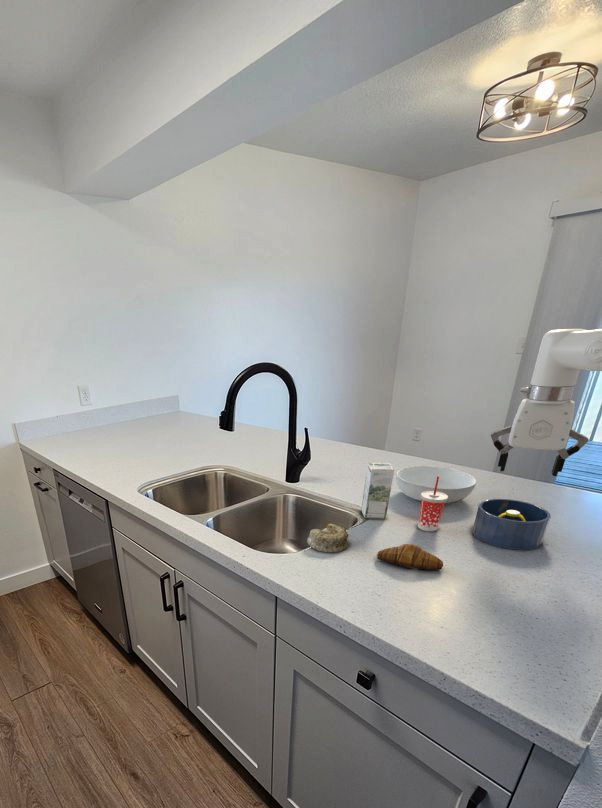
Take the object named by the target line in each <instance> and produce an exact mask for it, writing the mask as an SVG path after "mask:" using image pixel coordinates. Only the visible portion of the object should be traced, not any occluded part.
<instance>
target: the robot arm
mask: <svg viewBox="0 0 602 808" xmlns="http://www.w3.org/2000/svg"><path fill="white" fill-rule="evenodd" d="M581 370H582V371H588V372H589V371H590V372H602V328H595V329H589V330H588V329H585V328H563V329H562V328H561V329H551V330H549V331H547V332H545V333H544V335H543V336H542V338H541V342H540V345H539V350H538V353H537V356H536V361H535V365H534V368H533V372H532V376H531V380H530V384H529V385H528V386H526V387H525V386H524V387H521V388H520V391H519V395H523V396H525V397H526V398H524V399H522V400H521V402H520V404H519V406H518V407H517V410H516V414H515V415H514V418H513V421H512V425H509V426H505V427H503V428H500V429H498V430H495V431H492V432H491V433H490V438H491V440H492V443H493V446H494V447H495V448H496V450H497V451H498V452H499V453H500V455H499V459H498V462H497V467H500V469H499V471H500V472H505V469H506V465H507V462H508V457H509V451H511V450H512V449H514V448H515V449H523V450H525V449H526V450H538V451H539V450H540V451H556V452H557V453H558V455H556V457H555V460H554V463H553V466H552V470H551V475H552V476H553V477H558V473H562V471H563V468H564V465H565V463H566V459H569V457H570V456H572V455H574V454H576V453H578V452H580V451H581V449H582V448H583V447H584V446H586V445H587V443H588V442H589V441H590V440H589V438H588V436H586V435H584V434H582V433H580V432H578V431H577V430H574V429H573V428H572V424H573V421H574V415H575V408H576V402H575V401H574V400H573V399H572V398H573V395H574V390H575V387H576V385H577V382H578V377H579V376H580V375H579V374H580V371H581ZM507 434H509V436H508V442H506V443H505V444H503V443H502V442H501V440H500V437H502V436H504V435H507ZM569 437H570V438H571V439H574V440H575V441H576V442H575V443H574V444H573V445H571V446H569V447H568V448H565V447H566V446H567V443H568V441H569Z"/></svg>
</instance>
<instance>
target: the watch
mask: <svg viewBox="0 0 602 808" xmlns="http://www.w3.org/2000/svg"><path fill="white" fill-rule="evenodd" d="M506 515H508V516H512V517H517V516H518V517H519V518H521V519H522V521H526V520H525V519H524V517H523V516H522V515H521V514H520V512H519V511H516V510H507V511H506V512H505V513H502V514H500V515H499V516H498V517H500V518H501V517H503V516H506Z"/></svg>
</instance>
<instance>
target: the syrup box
mask: <svg viewBox="0 0 602 808" xmlns="http://www.w3.org/2000/svg"><path fill="white" fill-rule="evenodd" d="M394 475H395V469H394V467H393V466H392V464H391V463H390V462H368V463H367V466H366V475H365V482H364V489H363V496H362V503H361V509H360V510H361V512H362V515H363V518H364V519H376V520H377V519H378V520H380V519H381V520H385V519H387V515H388V509H389V503H390V496H391V492H392V486H393V480H394Z"/></svg>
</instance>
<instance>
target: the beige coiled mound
mask: <svg viewBox="0 0 602 808" xmlns="http://www.w3.org/2000/svg"><path fill="white" fill-rule="evenodd" d="M348 537H349V532H348V531H347V530H346V529H345V528H344V526H343V527H342V526H340V525H337V524H335V523H334V524H333V523H328V524H327V525H326V528H323V529H319V528H313V529H311V530H310V532H309V534H308V537H307V539H306V540H307V541H306V543H307V545H308V546H309V547H310V548H312V549H315V550H316V551H319V552H323V553H338V552H341V551H344V550H346V549H347V548H348V547H349V541H348Z"/></svg>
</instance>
